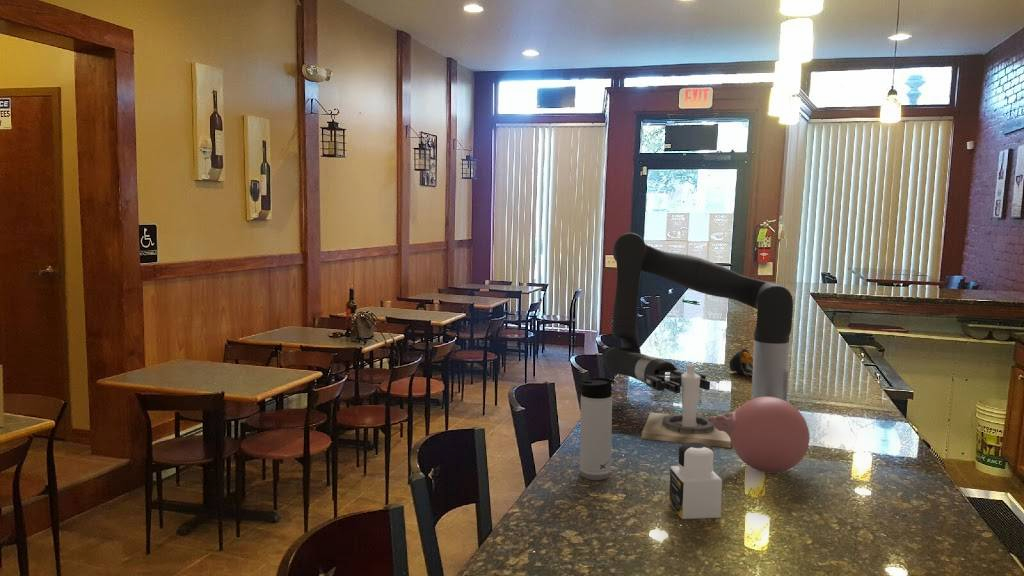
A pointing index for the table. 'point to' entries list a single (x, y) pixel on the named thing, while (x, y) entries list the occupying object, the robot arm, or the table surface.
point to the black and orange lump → (742, 363)
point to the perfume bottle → (690, 396)
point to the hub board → (683, 430)
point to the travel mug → (596, 428)
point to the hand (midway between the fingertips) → (694, 387)
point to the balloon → (766, 433)
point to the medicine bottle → (695, 483)
